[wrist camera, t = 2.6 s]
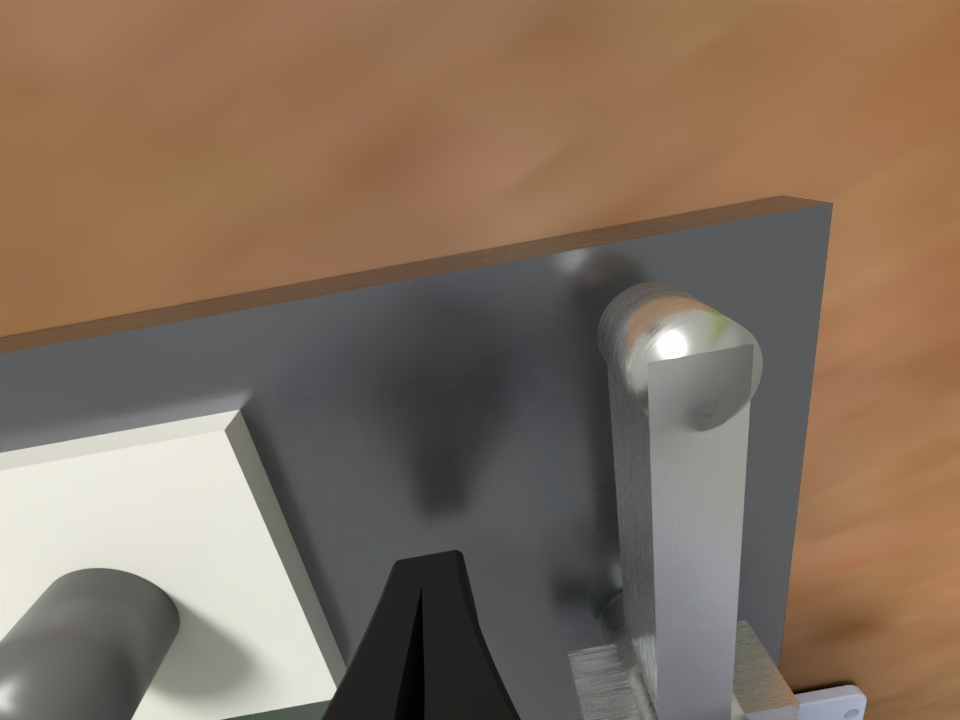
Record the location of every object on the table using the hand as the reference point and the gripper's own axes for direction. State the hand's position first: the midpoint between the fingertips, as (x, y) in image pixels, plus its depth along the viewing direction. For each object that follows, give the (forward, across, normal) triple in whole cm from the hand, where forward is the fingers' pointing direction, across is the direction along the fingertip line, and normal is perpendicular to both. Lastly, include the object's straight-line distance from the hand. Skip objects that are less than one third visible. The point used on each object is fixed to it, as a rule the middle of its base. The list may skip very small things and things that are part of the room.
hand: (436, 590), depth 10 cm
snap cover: (+2, +7, 0) cm, 7 cm away
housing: (+3, +2, +1) cm, 4 cm away
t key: (+2, -5, 0) cm, 5 cm away
